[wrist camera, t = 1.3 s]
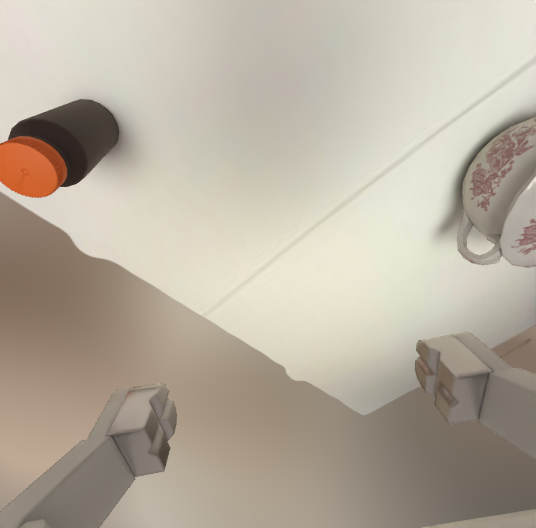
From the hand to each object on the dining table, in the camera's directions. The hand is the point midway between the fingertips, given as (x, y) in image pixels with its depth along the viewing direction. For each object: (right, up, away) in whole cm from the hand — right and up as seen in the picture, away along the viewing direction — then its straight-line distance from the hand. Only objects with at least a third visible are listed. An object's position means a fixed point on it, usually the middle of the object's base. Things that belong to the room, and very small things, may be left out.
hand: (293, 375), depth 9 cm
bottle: (-26, +24, +31) cm, 47 cm away
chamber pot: (+47, +24, +49) cm, 72 cm away
